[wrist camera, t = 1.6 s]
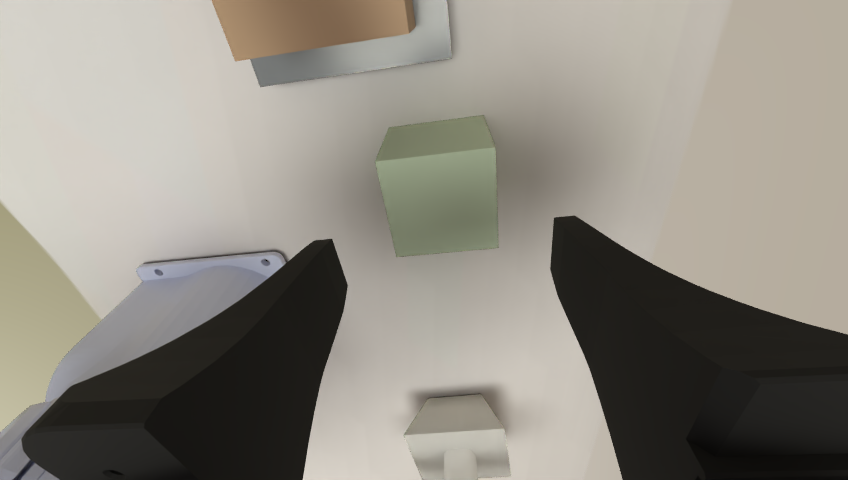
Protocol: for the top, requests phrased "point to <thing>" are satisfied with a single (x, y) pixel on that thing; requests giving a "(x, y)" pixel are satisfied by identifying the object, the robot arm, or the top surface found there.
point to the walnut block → (308, 23)
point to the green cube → (440, 186)
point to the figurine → (458, 440)
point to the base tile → (365, 51)
